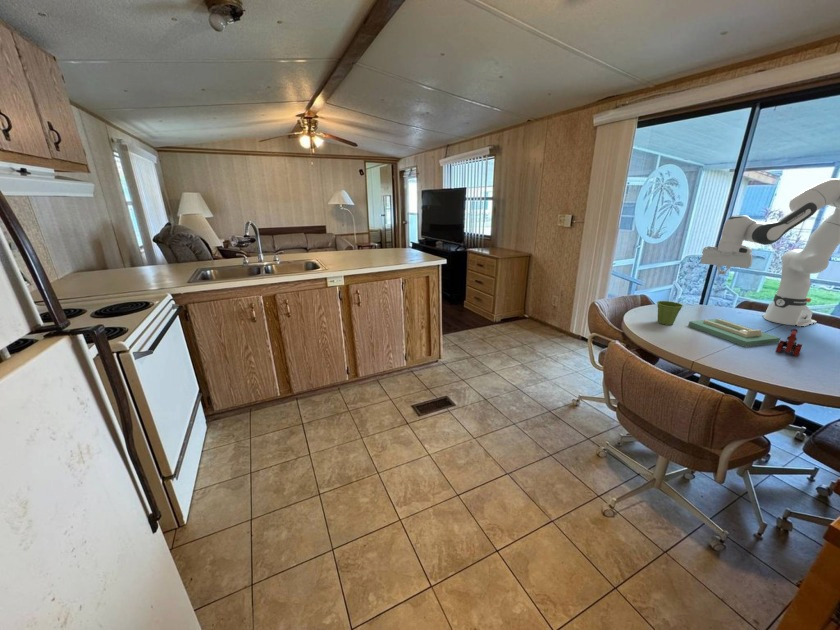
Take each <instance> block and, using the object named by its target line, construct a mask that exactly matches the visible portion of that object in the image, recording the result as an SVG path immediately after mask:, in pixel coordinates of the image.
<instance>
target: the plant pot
mask: <svg viewBox="0 0 840 630" xmlns="http://www.w3.org/2000/svg"><path fill="white" fill-rule="evenodd" d="M656 303H657V323H658V324H662V325H664V324H665V325H666V326H671V325H674V323H675V321H676V319H677V317H678V315H679V313H680V312H681V309H682V308H683V307H684V305H683V304H682V303H679V302H676V301H668V300H657V301H656Z"/></svg>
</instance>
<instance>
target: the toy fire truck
mask: <svg viewBox="0 0 840 630" xmlns="http://www.w3.org/2000/svg"><path fill="white" fill-rule="evenodd" d="M797 333H798V329H796V328H792V329H790V335H789V336H787V337H786V340H781V339H780V341H779V343H777V347H776V349H775V352H776V353H781V352H782V350H783V351H784V352H785V353H789V354H790V353H791V352H792V353H793V354H792V355H793V356H794V357H799V355H800V352H801V350H802V348H803V344H802V343H797V340H798V337H797Z"/></svg>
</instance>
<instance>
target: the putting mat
mask: <svg viewBox="0 0 840 630" xmlns="http://www.w3.org/2000/svg"><path fill="white" fill-rule="evenodd" d="M687 327H690V328H693V329H695V330H699V331H701V332H704V333H706V332H707V334H709V335H711V336H715V337H718V338H719V339H720V338H721V339H723V340H725V339H726V340H725V341H728V340H729V341H728V342H732V343H733V342H734V344H736V343H737V345H739V346H742V347H744V346H745V348H746V346H747V347H755V346H763V345H771V344H779V343H780V341H781V337H779V336H777V335H772V334H770V333H766V332H764V331H762V329H754V328H750V327H747V326H746V325H745V326H744V325H742V324H738V323H735V322H732V321H728V320H725V319H723V318H713V319H712V318H711V319H702V320H694V321H693V320H692V321H689V322H688V326H687ZM740 330H746V331H748V332H747V333H744V332H741V331H740Z"/></svg>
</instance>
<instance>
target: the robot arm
mask: <svg viewBox="0 0 840 630" xmlns="http://www.w3.org/2000/svg"><path fill="white" fill-rule="evenodd" d="M788 204H789V205H788V207H789V209H790V211H791V212H790V213H788V214H786V215H785V216H783V217H782V218H781V219H778V220H777V221H774V222H773V221H772V222H758V221H756V220H755V219H752V218H750V217H749V215H747V214H746V215H745V214H741V215H740V214H739V215H737V214H736V215H733V216H729V217H728V218H727V219H726V221H725V223H724V224H723V228H722V231H721V238H720V240H719V242H718V246H709V245H708V246H706V247H703V249H702V255H701V258H700V259H699V262H700V264H703V265H711V266H712V265H713V266H716V268H717V270H718V273H717V275H724V276H725V275H726V274H727V271H729V270H730V269H731V268H732V267H733V268H740V269H741V268H742V269H749V268H750V267H752V265H753V260H754V259H753V258H754V257H753V256H754V255H753V254H752V252H753V248H752V247H749V246H746V245H743V241H745V242H749V243H754V244H755V243H756V244H760V245H766V246H769V245H772V244H775V243H777V242H778V241H779V240H781V238H782V237H783V236H784V235H785V234H786V233H788V232H789V231H790V230H792V229H794V228H796V227H797V226H798V225H800V224H802V223H803V222H805V221H807V219H809V218H810V217H812V216H813V215H814V214H815V213H816V212H817V211H819V210H821V209H822V208H824V207H826V206H830V207H833V208H835V210H834V211H832V213H831V214H829V216H827V217H826V218H825V219H824V220H823V221H822V222H821V223H820V225H819V226H818V227H816V229H815V230H814V231H813V232H812V233H811V234H809V235H810V236H809V239H808V241H807V243H806V245H805V246H804V248H794V249H790V250H787V251H786V252H785V253H784V254H783V255H782V256H781V262H782V266H781V277H780V282H779V286H778V287H777V288H778V289H777V292H776V293H775V295H774V296H773V300H772V302H770V303H769V304H768V306H767V309H766V311H765V312H764V313H762V315H761V316H762V317H763V319H765V320H767V321H769V322H773V323H777V324H781V325H787V326H795V325H797V326H796V327H801V326H804V327H807V326H810V325H809V324H811V325H814V324H817V320H815V319H812V316H813V311H812V310H811V309H810V308H809V307H808V305H807V303H810V302H811V301H812V298H810V297H809V298H808V297H807V296H808V293H809V291H810V290H811V289H810V288H811V285H812V282H811V274H812V275H813V274H818V273H821V272H823V271H824V270H826V269H827V268H828V266H829V263H830V262H829V260H830V258H831V257H832V255H833V254H834V252H835V250H836V249H837V248H838V246H839V245H840V178H834V177H833V178H830V179H829V178H828V179H825V180H823V181H821V182H819V183H816V184H814V185H812V186H811V187H808V188H806V189H804V190H802V191H801V192H799V193H797V194H796V195H795V196H793V197H792V198H791V199H790V201H789V203H788ZM722 266H723V267H725V268H726V269H725V270H721V268H722ZM813 323H814V324H813Z"/></svg>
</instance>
